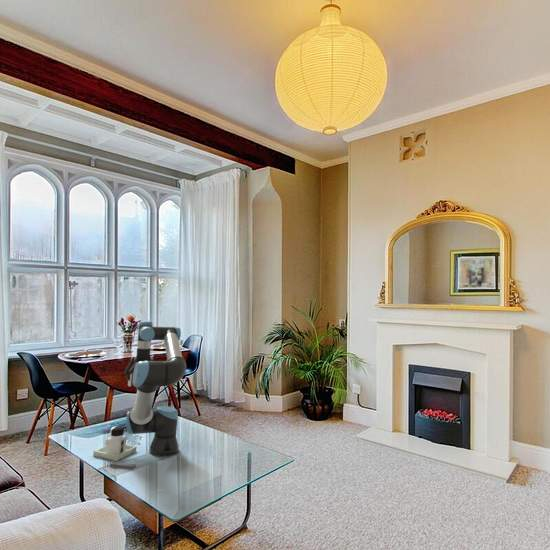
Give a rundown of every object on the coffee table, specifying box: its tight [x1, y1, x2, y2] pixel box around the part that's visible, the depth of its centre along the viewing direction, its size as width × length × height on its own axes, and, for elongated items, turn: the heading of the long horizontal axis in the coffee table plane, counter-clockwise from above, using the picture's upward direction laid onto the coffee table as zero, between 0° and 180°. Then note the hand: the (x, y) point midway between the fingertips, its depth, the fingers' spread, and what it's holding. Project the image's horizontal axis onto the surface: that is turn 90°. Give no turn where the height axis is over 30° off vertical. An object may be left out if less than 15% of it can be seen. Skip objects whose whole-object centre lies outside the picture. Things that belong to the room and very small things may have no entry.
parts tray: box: [92, 443, 137, 462], centre depth 216 cm, size 15×15×2 cm
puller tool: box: [109, 461, 137, 470], centre depth 201 cm, size 12×2×2 cm, turn 86°
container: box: [105, 425, 127, 455], centre depth 216 cm, size 8×8×13 cm
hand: (140, 384), depth 236 cm, fingers open, 13 cm apart
